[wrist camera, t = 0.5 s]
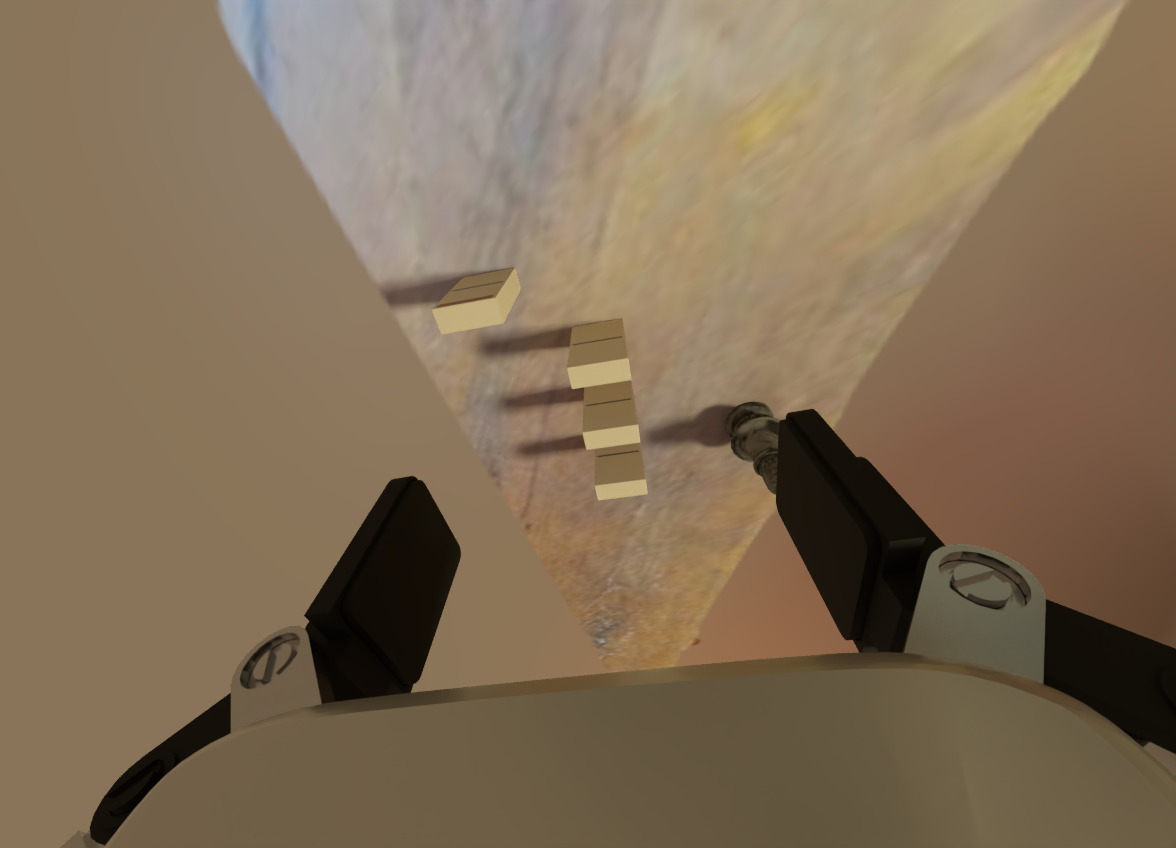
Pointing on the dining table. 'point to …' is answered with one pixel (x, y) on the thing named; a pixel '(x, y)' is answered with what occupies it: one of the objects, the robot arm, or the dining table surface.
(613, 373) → the domino
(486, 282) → the domino
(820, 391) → the dining table surface
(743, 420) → the dark chess piece
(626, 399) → the domino
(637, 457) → the domino
